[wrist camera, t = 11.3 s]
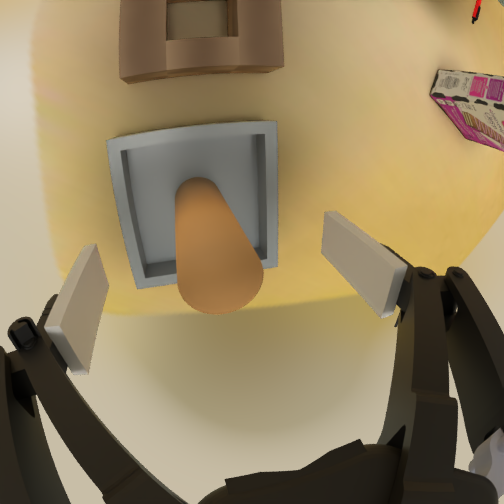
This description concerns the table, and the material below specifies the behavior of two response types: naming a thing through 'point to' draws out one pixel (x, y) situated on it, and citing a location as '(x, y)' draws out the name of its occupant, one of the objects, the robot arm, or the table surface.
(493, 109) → the candy bar box
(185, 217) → the pin
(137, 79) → the hitch block
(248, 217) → the tray
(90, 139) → the table surface
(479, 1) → the pen
